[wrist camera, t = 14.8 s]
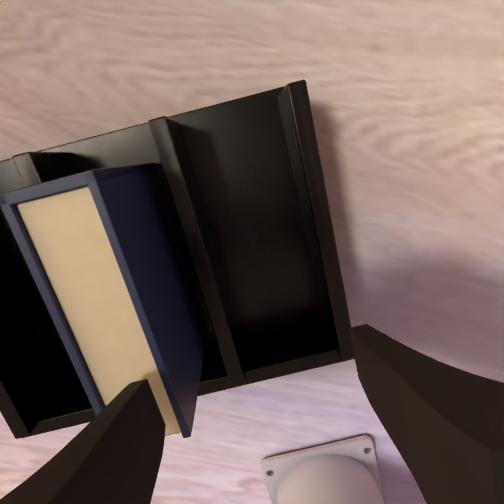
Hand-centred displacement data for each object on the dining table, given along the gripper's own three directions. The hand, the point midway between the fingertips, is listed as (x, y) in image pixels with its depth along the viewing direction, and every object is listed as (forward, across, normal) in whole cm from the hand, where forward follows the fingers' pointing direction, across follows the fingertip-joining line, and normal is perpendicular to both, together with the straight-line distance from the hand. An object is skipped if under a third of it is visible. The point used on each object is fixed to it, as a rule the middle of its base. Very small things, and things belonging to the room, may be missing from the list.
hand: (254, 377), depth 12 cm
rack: (+9, +4, -3) cm, 11 cm away
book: (+8, +4, -3) cm, 10 cm away
